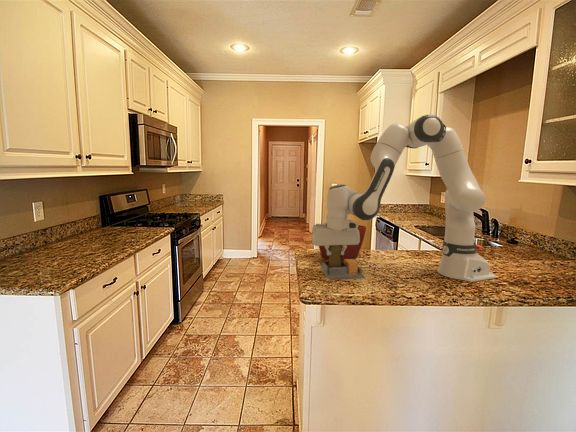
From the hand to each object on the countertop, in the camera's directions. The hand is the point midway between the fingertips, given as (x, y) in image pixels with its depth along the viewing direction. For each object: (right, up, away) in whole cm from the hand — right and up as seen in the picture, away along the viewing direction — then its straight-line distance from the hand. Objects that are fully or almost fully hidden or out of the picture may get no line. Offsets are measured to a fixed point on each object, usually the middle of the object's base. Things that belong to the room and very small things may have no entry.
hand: (335, 255), depth 127 cm
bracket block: (+7, -7, +2) cm, 10 cm away
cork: (0, -6, +1) cm, 7 cm away
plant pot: (+6, -5, +25) cm, 26 cm away
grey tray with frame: (+3, -8, +2) cm, 9 cm away
